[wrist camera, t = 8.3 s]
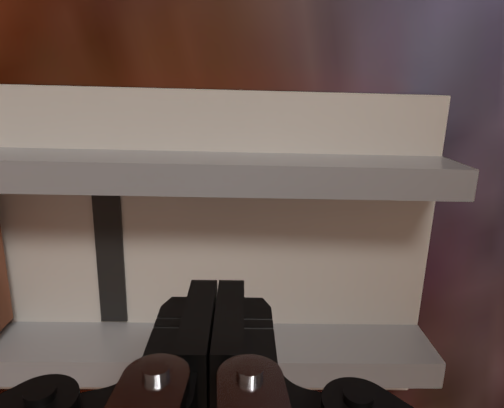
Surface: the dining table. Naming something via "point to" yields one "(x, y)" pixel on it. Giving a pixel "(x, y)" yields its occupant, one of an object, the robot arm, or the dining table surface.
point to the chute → (221, 223)
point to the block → (4, 290)
